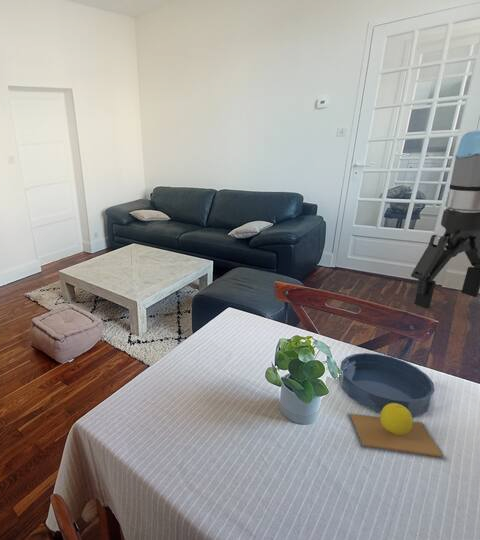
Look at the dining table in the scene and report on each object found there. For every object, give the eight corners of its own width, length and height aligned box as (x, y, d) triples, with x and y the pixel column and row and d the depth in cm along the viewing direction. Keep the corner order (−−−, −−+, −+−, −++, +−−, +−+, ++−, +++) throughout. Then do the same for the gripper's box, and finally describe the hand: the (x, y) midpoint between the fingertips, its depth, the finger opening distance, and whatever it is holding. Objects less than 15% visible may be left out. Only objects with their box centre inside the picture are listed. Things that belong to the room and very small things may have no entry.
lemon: (380, 419, 80) (386, 392, 77) (410, 431, 76) (417, 403, 73) (375, 434, 77) (380, 406, 74) (406, 447, 73) (413, 418, 70)
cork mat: (420, 424, 78) (421, 422, 78) (441, 457, 70) (442, 455, 70) (350, 415, 83) (351, 413, 83) (363, 446, 75) (363, 443, 75)
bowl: (408, 371, 95) (412, 356, 93) (447, 423, 78) (452, 406, 76) (330, 364, 101) (332, 350, 99) (350, 411, 84) (353, 395, 82)
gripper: (493, 198, 76) (469, 284, 83) (401, 214, 72) (385, 303, 79) (538, 202, 69) (508, 296, 76) (440, 221, 65) (418, 318, 72)
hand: (445, 300), depth 78 cm, fingers open, 13 cm apart
